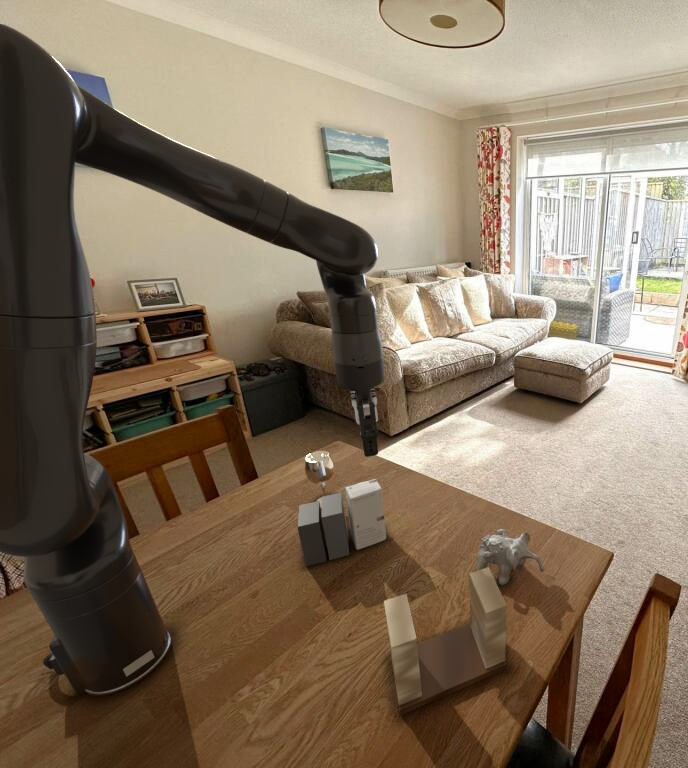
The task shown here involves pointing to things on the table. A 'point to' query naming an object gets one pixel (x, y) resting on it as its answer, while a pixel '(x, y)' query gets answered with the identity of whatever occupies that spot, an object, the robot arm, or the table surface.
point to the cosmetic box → (366, 513)
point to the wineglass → (319, 469)
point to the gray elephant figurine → (505, 553)
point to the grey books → (323, 530)
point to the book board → (447, 647)
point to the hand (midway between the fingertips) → (369, 443)
